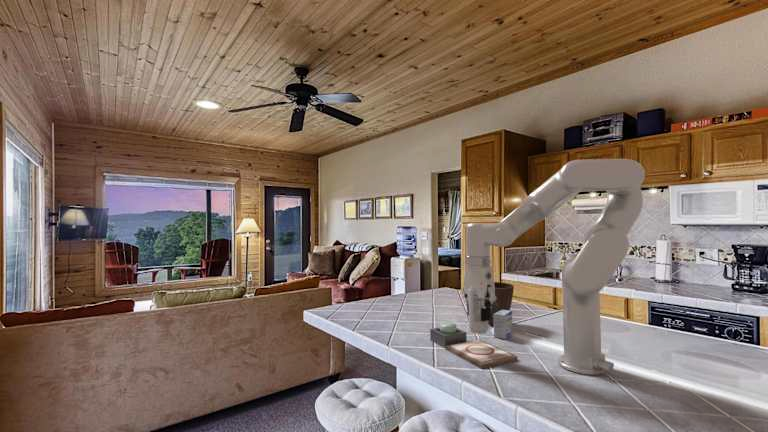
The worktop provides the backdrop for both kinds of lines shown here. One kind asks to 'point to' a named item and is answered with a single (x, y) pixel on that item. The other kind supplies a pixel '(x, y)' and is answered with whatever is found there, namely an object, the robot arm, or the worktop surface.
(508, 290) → the plant pot
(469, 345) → the sketch board
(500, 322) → the medicine box
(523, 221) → the robot arm
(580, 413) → the worktop surface
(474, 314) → the energy drink can
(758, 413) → the worktop surface
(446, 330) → the button
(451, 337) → the button housing
